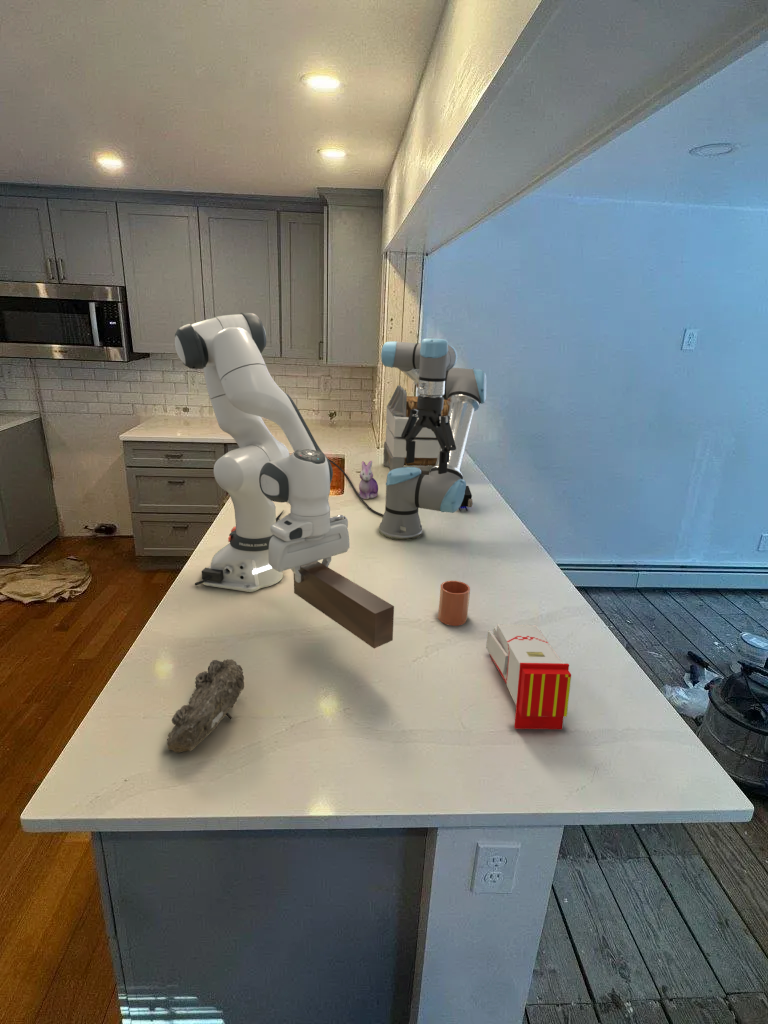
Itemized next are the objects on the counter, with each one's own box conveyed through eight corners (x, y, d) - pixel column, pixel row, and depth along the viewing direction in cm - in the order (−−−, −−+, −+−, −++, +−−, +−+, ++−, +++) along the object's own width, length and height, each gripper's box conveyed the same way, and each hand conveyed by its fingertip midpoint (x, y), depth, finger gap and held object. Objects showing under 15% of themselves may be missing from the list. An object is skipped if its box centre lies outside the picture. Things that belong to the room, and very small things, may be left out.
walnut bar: (311, 587, 138) (311, 557, 135) (392, 640, 117) (394, 606, 114) (293, 593, 135) (293, 562, 132) (374, 648, 114) (375, 613, 111)
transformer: (382, 463, 289) (386, 382, 275) (445, 464, 293) (451, 384, 279) (390, 482, 257) (394, 392, 243) (460, 483, 261) (468, 394, 247)
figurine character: (472, 516, 224) (466, 500, 237) (474, 499, 220) (469, 483, 234) (455, 515, 224) (451, 499, 237) (457, 498, 220) (452, 483, 234)
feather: (290, 505, 227) (293, 501, 226) (273, 528, 200) (276, 524, 200) (286, 502, 226) (289, 498, 226) (269, 525, 200) (272, 521, 199)
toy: (533, 609, 133) (580, 670, 104) (528, 661, 136) (573, 736, 107) (482, 608, 133) (514, 669, 103) (478, 661, 135) (509, 735, 106)
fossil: (192, 660, 117) (244, 628, 112) (224, 691, 120) (276, 661, 115) (142, 746, 98) (202, 712, 93) (182, 779, 101) (242, 748, 96)
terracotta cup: (432, 616, 147) (434, 585, 144) (451, 608, 152) (454, 578, 149) (453, 629, 142) (456, 597, 139) (472, 619, 146) (476, 588, 143)
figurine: (363, 500, 232) (364, 465, 227) (352, 493, 240) (353, 459, 235) (383, 498, 236) (385, 463, 231) (372, 491, 244) (373, 457, 239)
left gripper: (339, 509, 136) (339, 561, 141) (263, 527, 124) (265, 584, 128) (355, 516, 132) (354, 570, 136) (278, 536, 119) (280, 595, 124)
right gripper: (391, 390, 167) (388, 460, 174) (454, 402, 150) (447, 479, 157) (410, 389, 172) (406, 457, 179) (473, 400, 154) (465, 475, 162)
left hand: (311, 577), depth 132 cm, fingers closed on walnut bar, 5 cm apart
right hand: (425, 467), depth 168 cm, fingers open, 13 cm apart
